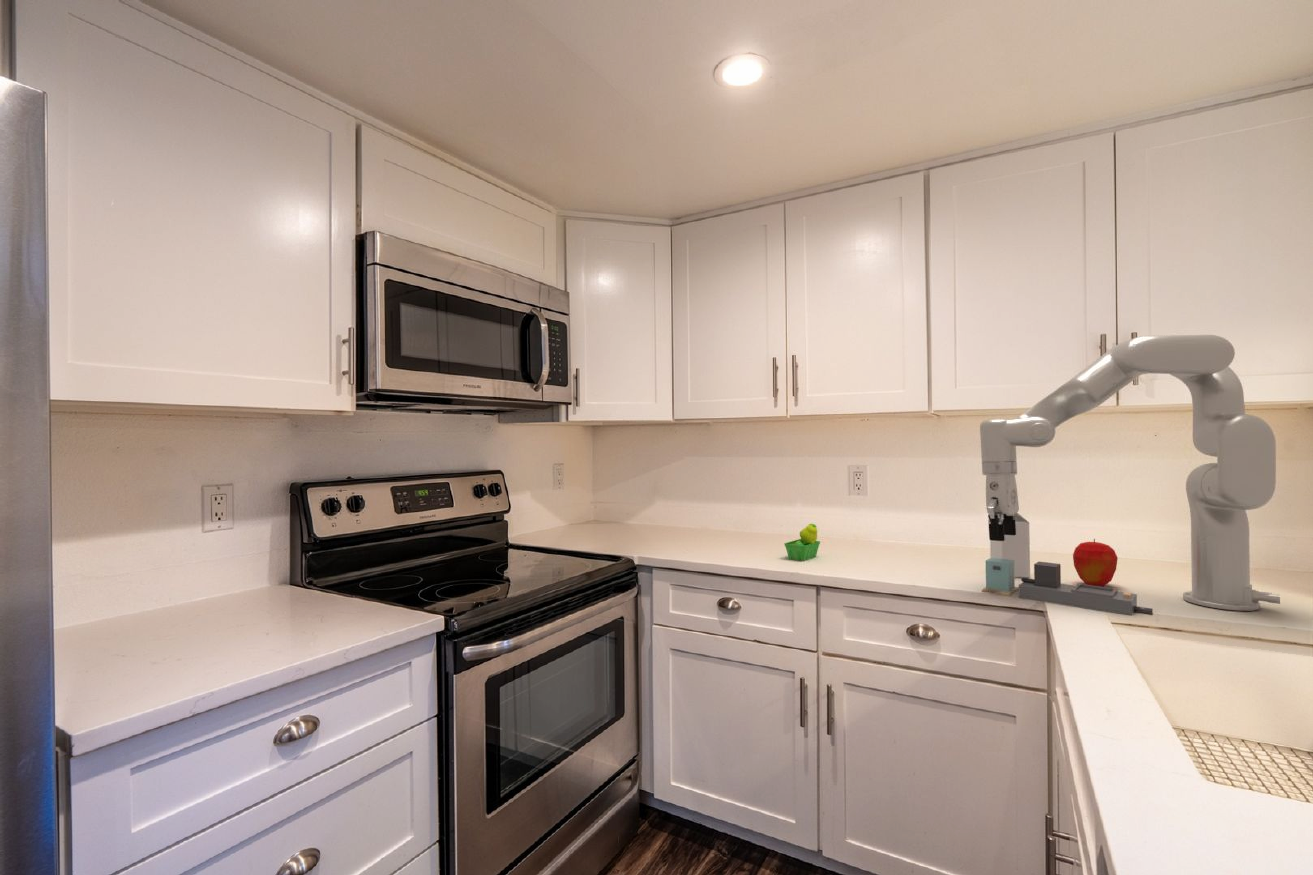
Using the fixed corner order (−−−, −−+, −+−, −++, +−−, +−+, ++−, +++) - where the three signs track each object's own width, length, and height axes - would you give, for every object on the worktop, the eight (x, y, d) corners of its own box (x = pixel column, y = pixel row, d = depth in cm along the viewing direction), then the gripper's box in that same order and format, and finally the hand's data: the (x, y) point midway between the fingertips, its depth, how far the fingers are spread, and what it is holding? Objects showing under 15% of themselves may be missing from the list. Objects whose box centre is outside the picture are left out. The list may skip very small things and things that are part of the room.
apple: (1124, 591, 144) (1123, 542, 144) (1080, 588, 147) (1079, 540, 147) (1109, 582, 153) (1109, 536, 153) (1068, 580, 156) (1068, 534, 156)
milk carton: (1016, 572, 166) (1015, 504, 166) (1030, 578, 159) (1029, 507, 159) (990, 571, 167) (989, 504, 167) (1002, 577, 160) (1001, 507, 160)
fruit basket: (800, 553, 196) (799, 519, 196) (825, 557, 191) (824, 522, 191) (783, 559, 188) (782, 523, 188) (809, 563, 182) (808, 526, 182)
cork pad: (1018, 589, 147) (1018, 587, 147) (1009, 596, 142) (1009, 593, 142) (992, 585, 152) (992, 583, 152) (982, 591, 146) (982, 589, 146)
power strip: (1154, 610, 129) (1153, 573, 129) (1150, 618, 123) (1149, 580, 123) (1025, 590, 146) (1025, 558, 146) (1016, 597, 141) (1016, 563, 141)
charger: (1014, 588, 146) (1014, 560, 146) (1008, 592, 143) (1007, 563, 143) (992, 584, 150) (991, 557, 150) (985, 588, 146) (985, 560, 146)
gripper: (1006, 470, 138) (1010, 544, 138) (1025, 466, 150) (1029, 533, 150) (971, 471, 143) (975, 541, 143) (993, 466, 155) (996, 531, 155)
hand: (1002, 537), depth 146 cm, fingers open, 9 cm apart
